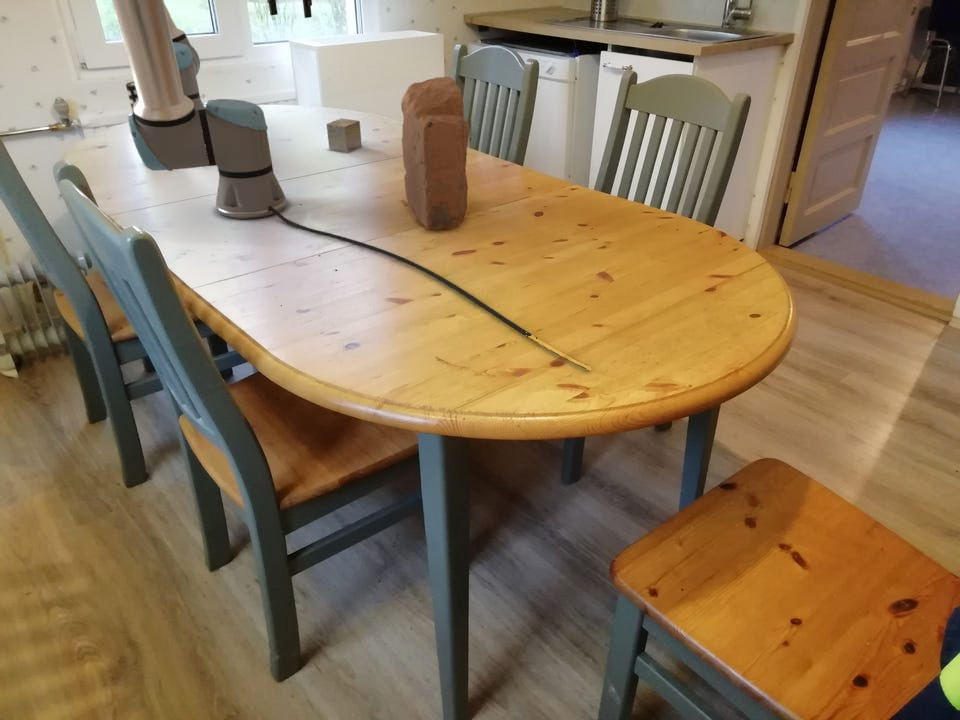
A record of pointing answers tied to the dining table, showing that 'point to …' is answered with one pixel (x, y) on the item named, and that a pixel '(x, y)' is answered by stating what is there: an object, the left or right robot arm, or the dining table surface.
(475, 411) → the dining table surface
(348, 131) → the metallic grey cube
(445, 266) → the dining table surface
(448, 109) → the stone
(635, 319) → the dining table surface
